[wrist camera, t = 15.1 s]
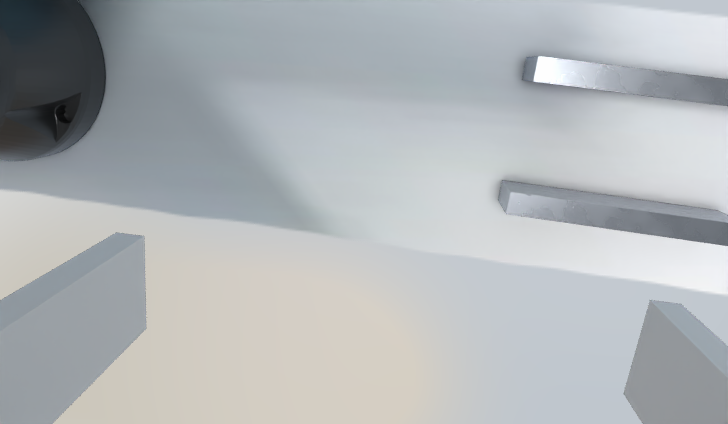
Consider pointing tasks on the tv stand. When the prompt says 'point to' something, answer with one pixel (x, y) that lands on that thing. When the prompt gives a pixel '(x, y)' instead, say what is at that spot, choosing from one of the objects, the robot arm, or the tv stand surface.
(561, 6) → the tv stand surface
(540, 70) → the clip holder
